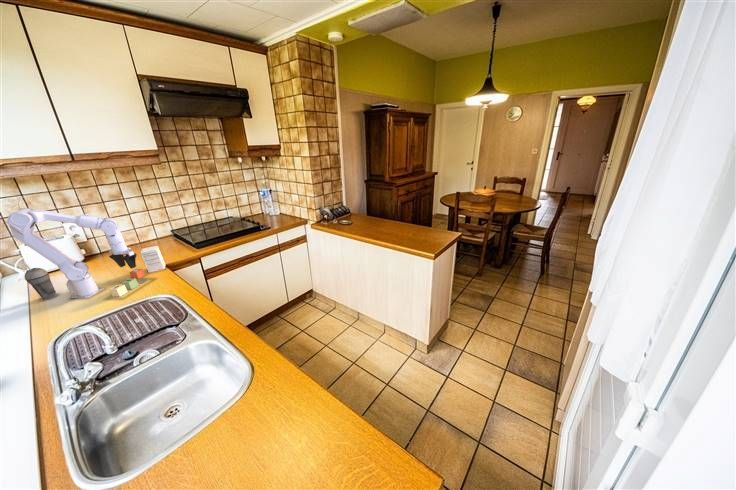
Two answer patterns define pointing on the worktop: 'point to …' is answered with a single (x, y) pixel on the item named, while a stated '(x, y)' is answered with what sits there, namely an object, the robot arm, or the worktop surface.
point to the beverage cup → (40, 282)
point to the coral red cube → (137, 273)
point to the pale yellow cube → (118, 290)
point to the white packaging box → (153, 258)
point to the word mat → (138, 283)
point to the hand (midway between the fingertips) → (128, 267)
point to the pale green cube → (130, 283)
